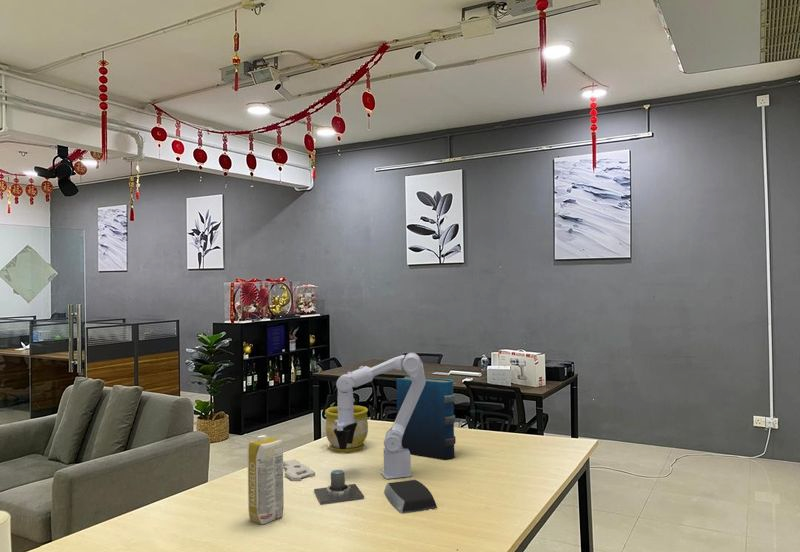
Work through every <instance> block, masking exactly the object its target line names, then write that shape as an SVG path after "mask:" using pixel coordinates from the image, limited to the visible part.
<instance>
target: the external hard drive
mask: <svg viewBox="0 0 800 552" xmlns="http://www.w3.org/2000/svg"><path fill="white" fill-rule="evenodd" d="M383 494H384V496H385V497H386V499H387V501H388V502H389V503H390V505H391V507H393V508H394V509H395V510H396V511H397V512H398V513H399V514H401V515H402V514H409V513H418V512H423V511H424V510H425V511H430V510H429V509H432V510H436V509H435V508H437V509H438V506H437V503H436V501H435V499H434V495H433V494H432V492H431V491H430V489H428V487H427V486H426V485H424V484H423V482H421V481H419V480H417V479H411V480H410V479H409V480H403V481H392V482H387V483H386V485H385V488H384V490H383ZM417 511H418V512H417ZM425 511H424V512H425Z"/></svg>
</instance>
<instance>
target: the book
mask: <svg viewBox="0 0 800 552" xmlns="http://www.w3.org/2000/svg"><path fill="white" fill-rule="evenodd" d="M395 380H396V416H397V415H398V413H399V411H400V408H401V406H402V404H403V402H404V400H405V397H406V395H407V393H408V391H409V388H410V386H411V384H412V381H411V379H410V376H409V375H407V376H406V375H405V376H404V378H396V379H395ZM425 380H426V383H425V386H424V388H423V390H422V393H421V395H420V397H419V399H418V401H417V404H416V406H415V408H414V410H413V413H412V415H411V417H410V419H409V422H408V424H407V426H406V428H405V431H404V434H403V436H402V447H403V448H404V449H408V450H409V452H410V456H417V457H422V458H429V459H435V460H440V461H450V460H453V459H455V444H456V440H457V439H456V438H457V437H456V436H455V423H456V415H455V414H454V413H455V412H454V411H455V410H454V408H455V407H454V402H455V400H456V397H455V396H456V395H455V393H454V380H453V379H449V378H447V379H446V378H435V377H425Z"/></svg>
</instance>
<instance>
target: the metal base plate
mask: <svg viewBox="0 0 800 552" xmlns="http://www.w3.org/2000/svg"><path fill="white" fill-rule="evenodd" d="M313 492H314V495H315V496H316V498H317V501H318V503H319V505H328V504H335V503H345V502H351V501H358V500H365V495H364V493H363V492H362V491H361V489H360V488H359V486H357V484H356V483H351V484H347V483H345V490H342V491H333V490H331V484H330V485H328V486H326V487H320V488H319V487H318V488H314V489H313Z"/></svg>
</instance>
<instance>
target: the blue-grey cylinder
mask: <svg viewBox="0 0 800 552" xmlns="http://www.w3.org/2000/svg"><path fill="white" fill-rule="evenodd" d="M345 473H346V472H345V471H344V470H342V469H334V470H331V472H330V485H331V490H333V491H342V490H345V484H346V481H345V479H346V478H345Z"/></svg>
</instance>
